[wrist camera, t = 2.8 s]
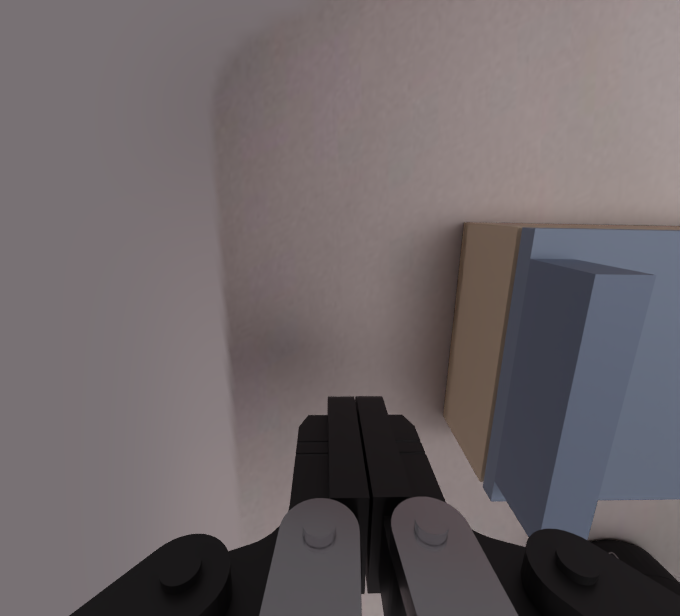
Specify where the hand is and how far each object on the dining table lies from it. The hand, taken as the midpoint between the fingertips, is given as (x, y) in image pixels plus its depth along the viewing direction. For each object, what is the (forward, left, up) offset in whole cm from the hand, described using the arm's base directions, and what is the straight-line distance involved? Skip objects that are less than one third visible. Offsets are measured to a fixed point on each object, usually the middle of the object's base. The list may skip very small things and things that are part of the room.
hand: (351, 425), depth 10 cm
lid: (-13, 0, -4) cm, 14 cm away
